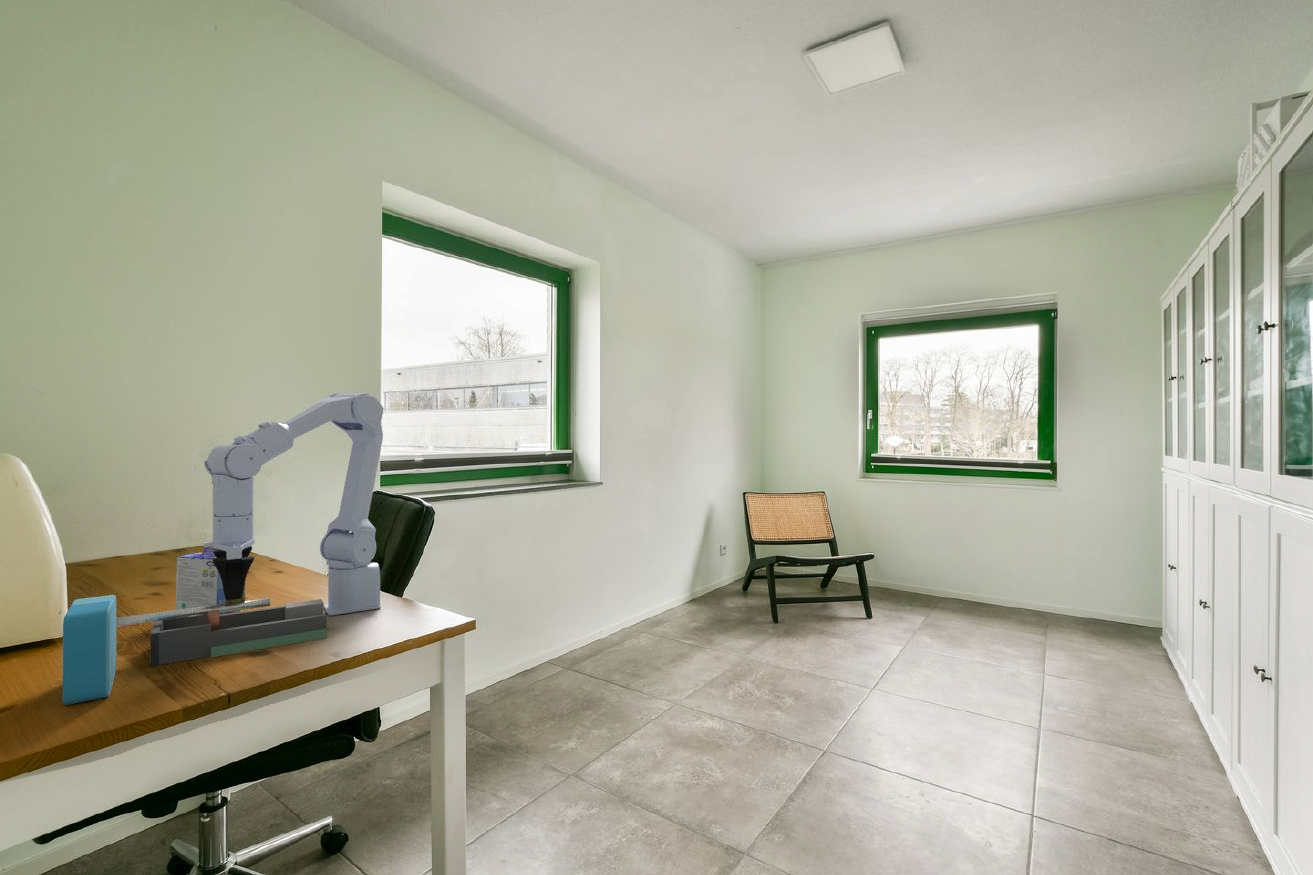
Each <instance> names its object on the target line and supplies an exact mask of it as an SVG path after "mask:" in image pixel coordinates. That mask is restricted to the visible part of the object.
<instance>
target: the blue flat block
mask: <svg viewBox="0 0 1313 875" xmlns="http://www.w3.org/2000/svg"><path fill="white" fill-rule="evenodd" d="M116 618H117V596H116V595H115V594H109V595H102V596H93V597H86V598H78V599H74V600H73V602H72V603H71V605H70V607H69V608H68V610H67V612H66V613H65V614H64V617H63V623H62V703H63V705H65V706H69V705H73V704H79V703H85V702H88V701H94V700H98V699H103V698H104V699H105V698H109V697H110V695H111V692H112V689H113V684H114V680H115V677H116V674H117V673H116V671H117V627H116Z"/></svg>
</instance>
